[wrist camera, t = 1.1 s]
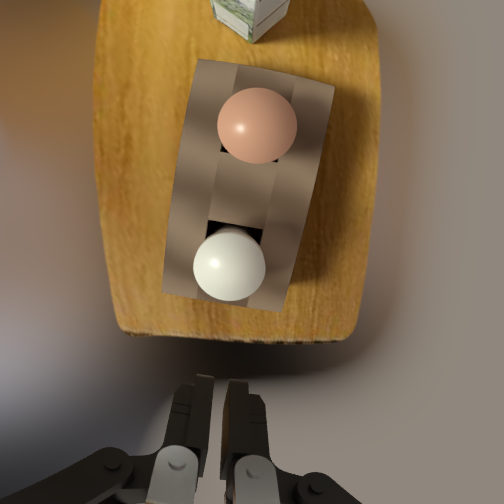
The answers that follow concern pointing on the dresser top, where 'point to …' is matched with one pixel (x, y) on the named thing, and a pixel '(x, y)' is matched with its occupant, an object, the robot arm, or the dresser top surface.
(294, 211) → the brown wooden block
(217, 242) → the cream knob
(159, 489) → the robot arm
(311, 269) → the dresser top surface
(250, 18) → the syrup box
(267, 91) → the terracotta knob
